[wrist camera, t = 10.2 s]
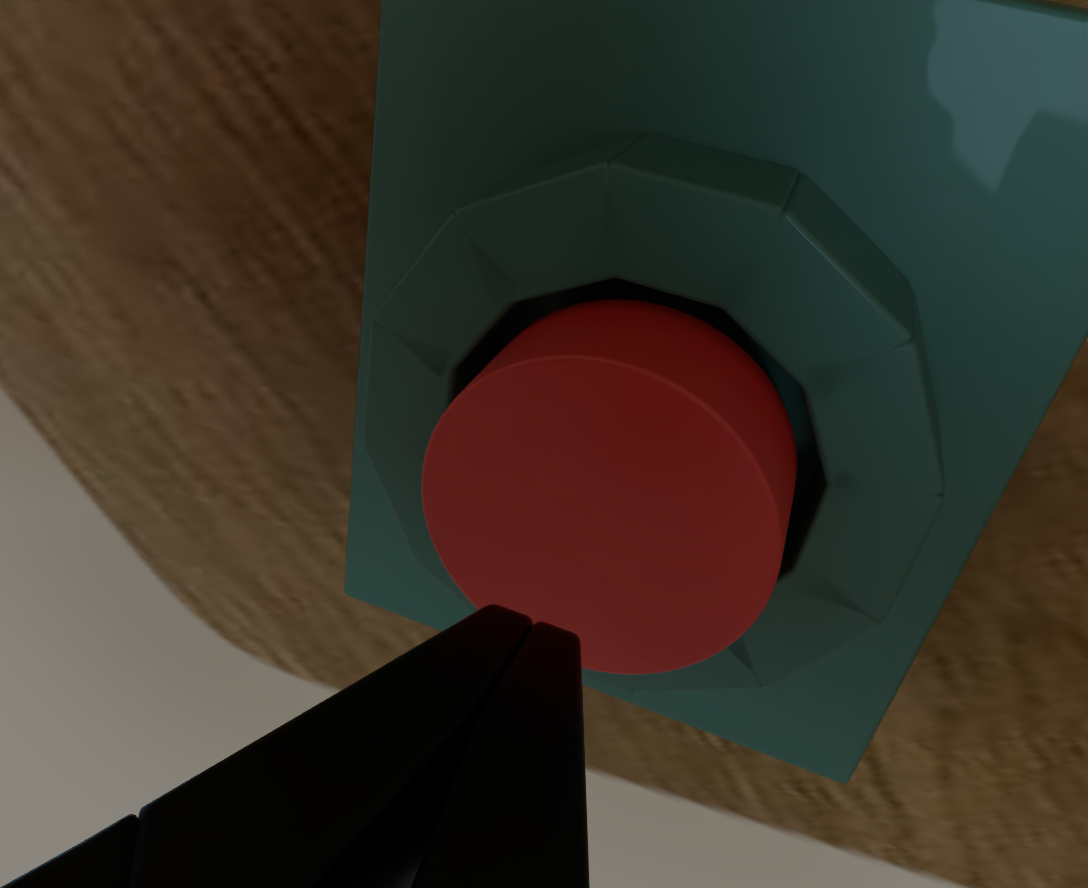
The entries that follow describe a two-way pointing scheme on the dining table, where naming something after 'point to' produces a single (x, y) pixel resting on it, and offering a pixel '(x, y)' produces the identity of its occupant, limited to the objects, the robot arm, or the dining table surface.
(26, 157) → the dining table surface
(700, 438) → the button
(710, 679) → the button box
